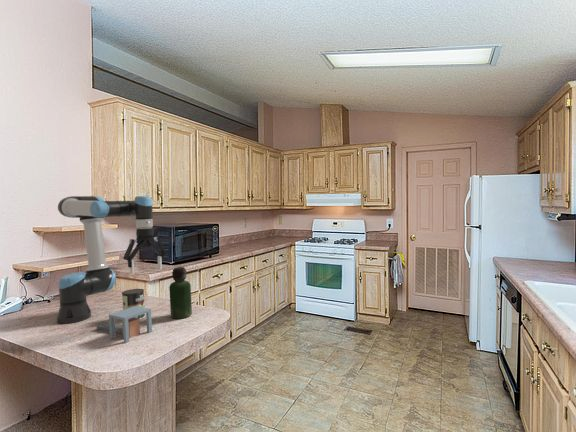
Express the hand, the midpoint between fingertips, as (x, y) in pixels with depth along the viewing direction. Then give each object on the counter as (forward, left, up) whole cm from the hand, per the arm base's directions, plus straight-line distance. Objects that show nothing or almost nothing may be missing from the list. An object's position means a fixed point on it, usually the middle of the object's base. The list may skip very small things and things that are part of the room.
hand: (146, 271), depth 158 cm
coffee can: (-15, +2, -26) cm, 30 cm away
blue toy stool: (+5, -13, -26) cm, 29 cm away
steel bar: (-8, -13, -26) cm, 30 cm away
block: (+5, -13, -26) cm, 29 cm away
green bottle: (+6, +15, -26) cm, 30 cm away
